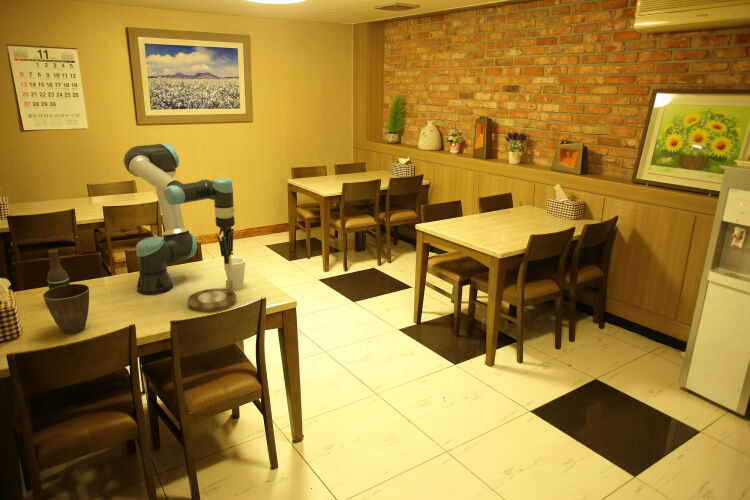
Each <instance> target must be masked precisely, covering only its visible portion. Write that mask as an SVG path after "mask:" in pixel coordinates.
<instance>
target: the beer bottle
mask: <svg viewBox="0 0 750 500" xmlns="http://www.w3.org/2000/svg"><path fill="white" fill-rule="evenodd" d="M47 253H48V257H49V270H48V271H47V275H46V277H47V278H46V279H47V284H48V286H47V287H48V290H50V289H52V288H55V287H58V286H63V285H69V284H71V283H70V277H69V274H68V273H67V271H66V270H65V269H64V268H63V266H62V264H61V260H60V257H59V250H58V249H56V248H51V249H49V250H47Z"/></svg>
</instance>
